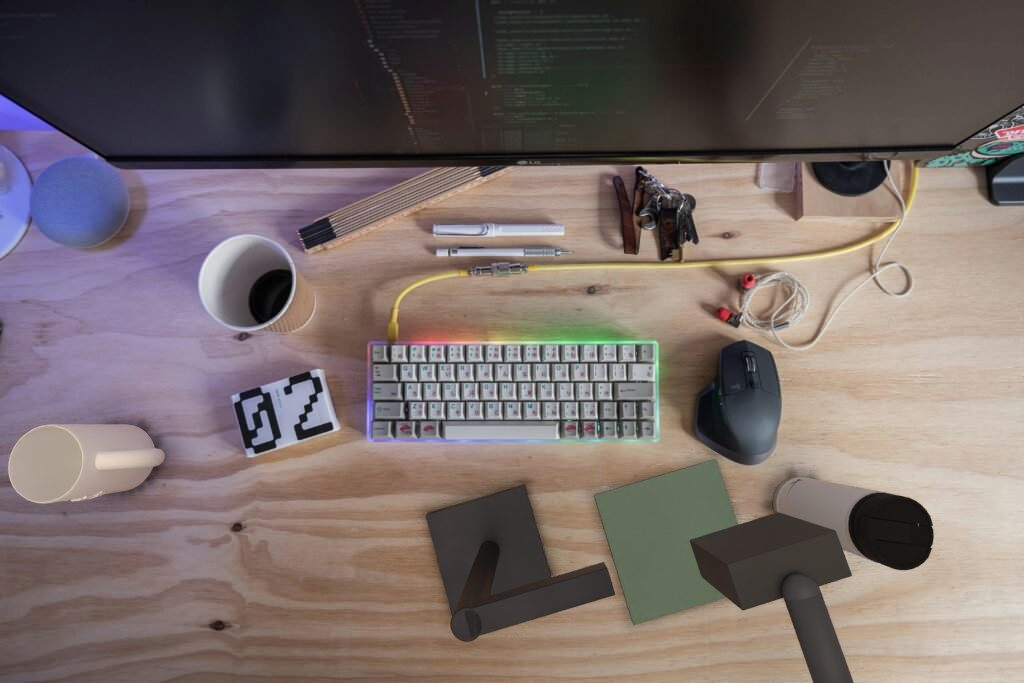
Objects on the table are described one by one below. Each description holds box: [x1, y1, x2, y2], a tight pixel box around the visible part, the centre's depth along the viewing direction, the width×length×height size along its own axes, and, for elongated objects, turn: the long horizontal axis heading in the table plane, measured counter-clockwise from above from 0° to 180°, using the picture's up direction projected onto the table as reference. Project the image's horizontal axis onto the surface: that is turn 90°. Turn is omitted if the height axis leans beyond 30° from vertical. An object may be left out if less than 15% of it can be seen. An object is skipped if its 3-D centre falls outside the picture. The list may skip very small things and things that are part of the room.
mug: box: [7, 423, 166, 505], centre depth 67 cm, size 8×12×12 cm
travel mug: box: [772, 476, 935, 571], centre depth 60 cm, size 6×7×20 cm
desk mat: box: [594, 458, 739, 626], centre depth 70 cm, size 15×15×1 cm
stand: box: [425, 483, 616, 643], centre depth 57 cm, size 12×17×27 cm
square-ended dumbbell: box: [690, 512, 855, 683], centre depth 33 cm, size 14×6×8 cm, turn 17°
